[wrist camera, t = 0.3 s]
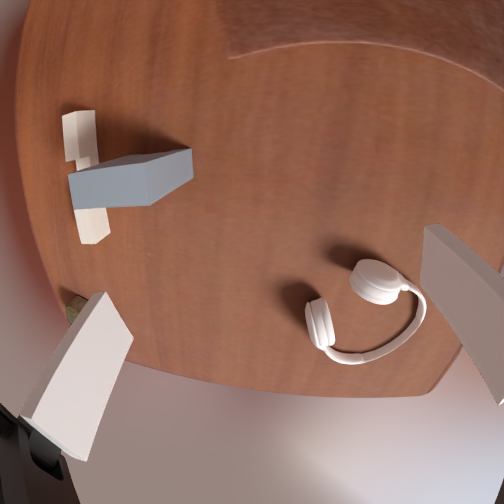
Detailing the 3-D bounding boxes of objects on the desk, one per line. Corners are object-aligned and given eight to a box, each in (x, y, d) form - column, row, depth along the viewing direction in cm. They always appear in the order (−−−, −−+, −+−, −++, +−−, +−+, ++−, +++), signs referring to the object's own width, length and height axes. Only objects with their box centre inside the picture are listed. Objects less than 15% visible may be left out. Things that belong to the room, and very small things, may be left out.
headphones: (286, 345, 37) (359, 384, 44) (396, 262, 29) (443, 327, 36) (282, 310, 43) (351, 355, 50) (375, 233, 35) (427, 300, 43)
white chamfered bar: (80, 114, 33) (62, 116, 29) (94, 110, 32) (76, 111, 28) (97, 232, 41) (81, 243, 37) (110, 232, 41) (95, 244, 37)
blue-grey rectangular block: (130, 182, 37) (73, 209, 25) (127, 155, 35) (67, 174, 23) (193, 177, 36) (149, 205, 24) (191, 148, 34) (144, 162, 22)
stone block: (76, 291, 48) (63, 305, 44) (121, 316, 49) (109, 331, 45) (77, 310, 51) (65, 324, 47) (119, 334, 52) (109, 350, 47)
